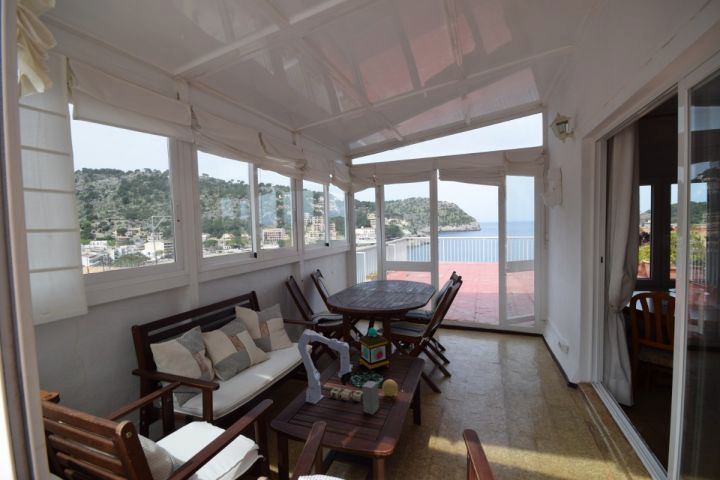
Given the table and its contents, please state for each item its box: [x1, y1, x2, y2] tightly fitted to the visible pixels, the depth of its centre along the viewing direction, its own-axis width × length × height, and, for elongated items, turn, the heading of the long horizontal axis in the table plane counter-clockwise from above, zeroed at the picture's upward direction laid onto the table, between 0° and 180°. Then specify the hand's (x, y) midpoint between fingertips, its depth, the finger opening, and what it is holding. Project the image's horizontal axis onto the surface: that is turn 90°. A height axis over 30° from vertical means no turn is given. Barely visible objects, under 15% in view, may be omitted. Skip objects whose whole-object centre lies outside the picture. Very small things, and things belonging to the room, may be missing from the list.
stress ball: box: [381, 378, 399, 397], centre depth 201 cm, size 10×10×10 cm
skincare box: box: [361, 380, 380, 415], centre depth 187 cm, size 8×7×16 cm
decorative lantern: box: [358, 327, 390, 373], centre depth 242 cm, size 20×20×30 cm
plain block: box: [340, 388, 353, 401], centre depth 201 cm, size 5×5×4 cm
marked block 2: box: [352, 390, 363, 402], centre depth 199 cm, size 5×5×4 cm
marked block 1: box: [330, 387, 342, 399], centre depth 204 cm, size 5×5×4 cm
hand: (346, 383), depth 201 cm, fingers open, 4 cm apart
